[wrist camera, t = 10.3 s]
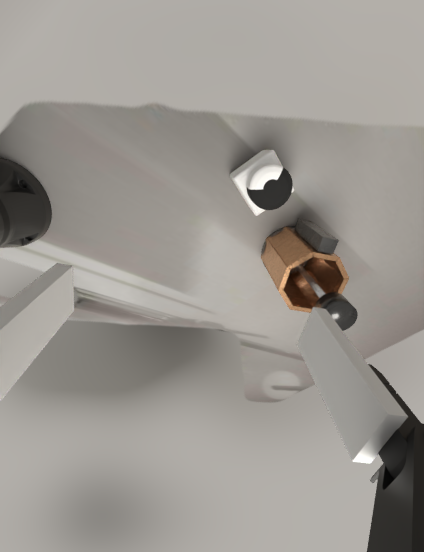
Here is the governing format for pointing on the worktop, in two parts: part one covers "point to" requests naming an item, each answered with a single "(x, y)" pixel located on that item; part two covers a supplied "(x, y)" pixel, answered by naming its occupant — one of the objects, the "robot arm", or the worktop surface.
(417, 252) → the worktop surface
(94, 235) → the worktop surface
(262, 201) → the medicine bottle
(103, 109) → the worktop surface
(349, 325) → the plunger
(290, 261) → the press carafe
